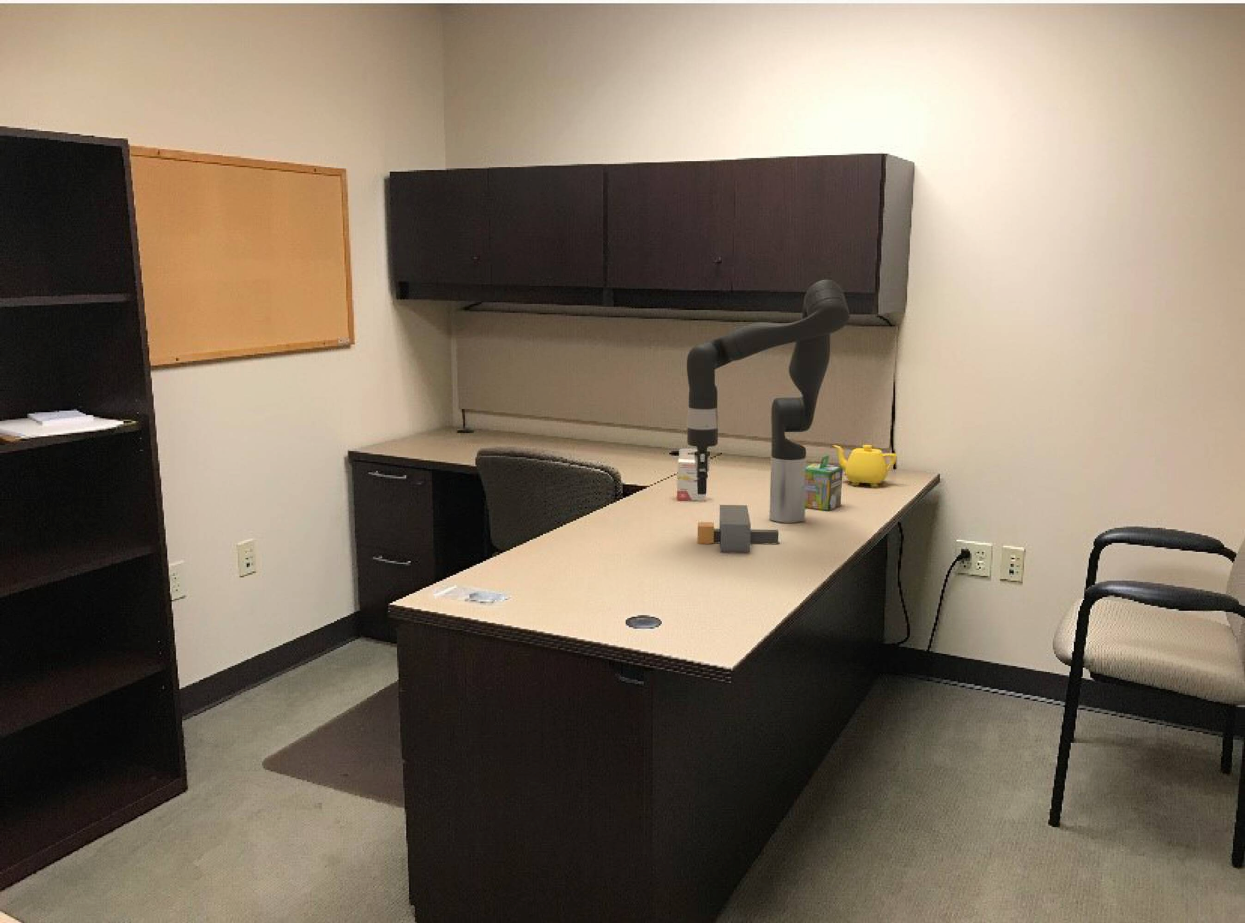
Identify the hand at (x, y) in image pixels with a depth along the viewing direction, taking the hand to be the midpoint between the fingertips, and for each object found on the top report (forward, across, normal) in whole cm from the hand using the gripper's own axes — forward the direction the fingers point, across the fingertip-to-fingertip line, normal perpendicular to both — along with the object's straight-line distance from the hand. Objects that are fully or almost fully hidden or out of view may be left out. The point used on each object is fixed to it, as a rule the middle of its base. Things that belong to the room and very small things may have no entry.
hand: (701, 490), depth 253 cm
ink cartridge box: (+13, +46, +2) cm, 48 cm away
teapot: (+13, +72, -52) cm, 89 cm away
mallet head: (+13, 0, -8) cm, 15 cm away
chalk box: (+13, +40, -35) cm, 55 cm away
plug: (+13, 0, -9) cm, 16 cm away
